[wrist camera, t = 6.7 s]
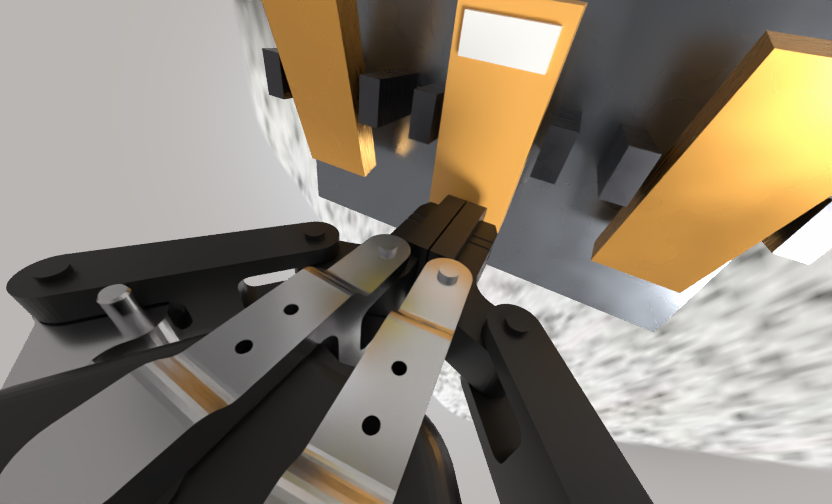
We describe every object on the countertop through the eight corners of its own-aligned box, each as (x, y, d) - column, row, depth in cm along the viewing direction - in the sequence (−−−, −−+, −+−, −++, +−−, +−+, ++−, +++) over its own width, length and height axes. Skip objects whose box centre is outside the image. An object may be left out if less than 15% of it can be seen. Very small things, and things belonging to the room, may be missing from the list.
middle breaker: (588, 2, 7) (583, 6, 7) (503, 220, 12) (495, 238, 12) (472, -16, 8) (456, -14, 7) (437, 196, 13) (425, 211, 12)
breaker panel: (1033, -117, 7) (2091, -495, 2) (646, 297, 16) (671, 412, 11) (340, -147, 12) (165, -276, 7) (343, 182, 20) (267, 225, 16)
